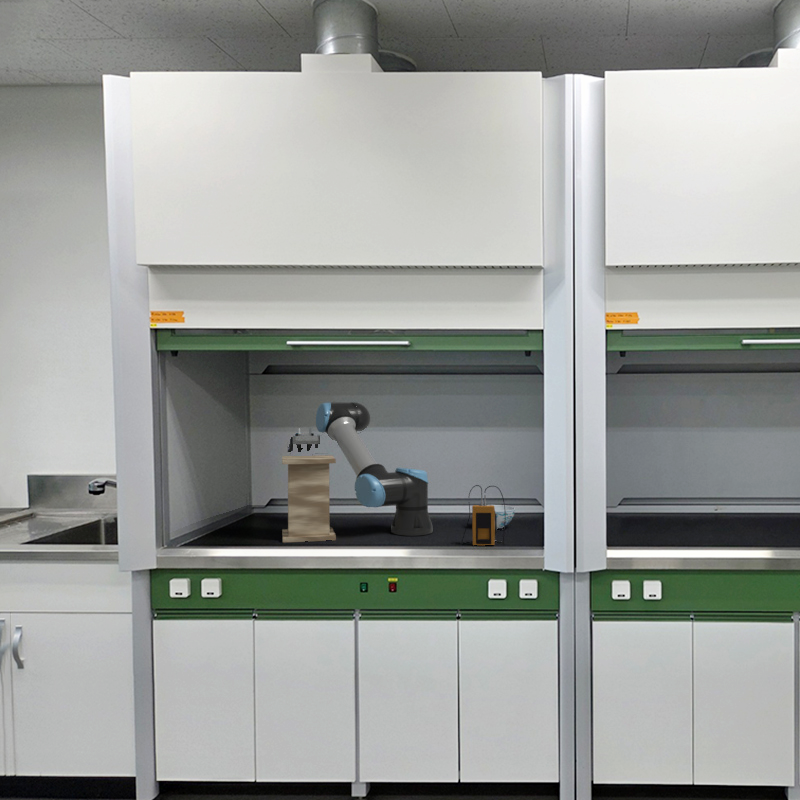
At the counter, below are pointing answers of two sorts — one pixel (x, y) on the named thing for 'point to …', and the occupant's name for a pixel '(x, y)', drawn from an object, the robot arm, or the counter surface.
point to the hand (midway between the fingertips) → (304, 431)
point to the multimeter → (484, 522)
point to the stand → (308, 499)
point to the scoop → (306, 439)
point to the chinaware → (503, 514)
